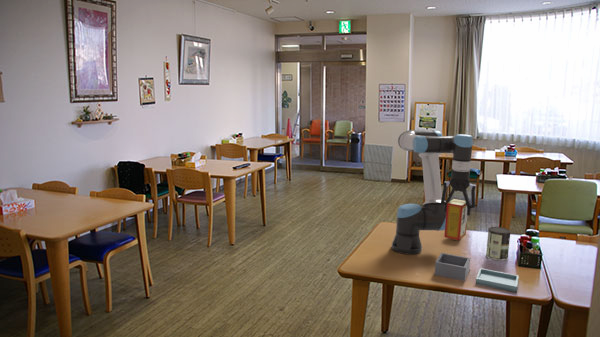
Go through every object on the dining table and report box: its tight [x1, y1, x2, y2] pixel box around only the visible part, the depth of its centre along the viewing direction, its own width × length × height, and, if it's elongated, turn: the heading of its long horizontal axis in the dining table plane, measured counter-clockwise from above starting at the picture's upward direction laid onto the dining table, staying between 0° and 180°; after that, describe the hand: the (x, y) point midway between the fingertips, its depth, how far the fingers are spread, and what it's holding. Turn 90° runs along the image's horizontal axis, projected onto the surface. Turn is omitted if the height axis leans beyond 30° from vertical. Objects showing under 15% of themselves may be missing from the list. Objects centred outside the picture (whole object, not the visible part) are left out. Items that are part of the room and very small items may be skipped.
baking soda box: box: [444, 198, 468, 241], centre depth 203 cm, size 10×6×16 cm
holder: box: [433, 252, 471, 282], centre depth 207 cm, size 13×14×6 cm
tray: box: [475, 267, 520, 293], centre depth 198 cm, size 16×13×2 cm
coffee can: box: [485, 226, 511, 262], centre depth 227 cm, size 10×10×14 cm
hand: (456, 220), depth 203 cm, fingers closed on baking soda box, 7 cm apart
